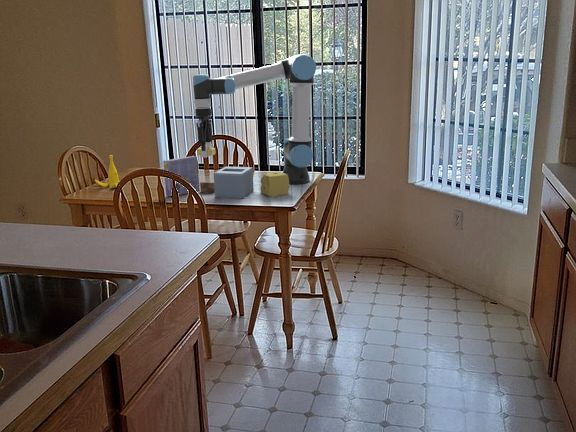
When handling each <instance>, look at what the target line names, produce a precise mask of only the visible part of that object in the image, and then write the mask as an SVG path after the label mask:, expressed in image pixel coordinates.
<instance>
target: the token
mask: <svg viewBox="0 0 576 432" xmlns="http://www.w3.org/2000/svg"><path fill="white" fill-rule="evenodd" d="M196 153H197V154H196V156H202V153H201V147H198V148H196ZM207 155H211V156H214V155H216V148H215V147H211V148H207Z"/></svg>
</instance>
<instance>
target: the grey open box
mask: <svg viewBox="0 0 576 432" xmlns="http://www.w3.org/2000/svg"><path fill="white" fill-rule="evenodd" d="M253 168H254V167H252V166H251V167H249V166H224V167H222V168H220V169H218V170H217V171H214V172H213V181H214V188H215V192H214V198H215V199H235V200H237V199H239V200H243V199H246V198H247V197H248V196H249V195H250V194H252V193H254V191H255V190H254V170H253Z"/></svg>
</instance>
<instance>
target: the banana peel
mask: <svg viewBox="0 0 576 432" xmlns="http://www.w3.org/2000/svg"><path fill="white" fill-rule="evenodd" d="M113 156H114V155H112V154H109V155H108V158H109V167H108V175H107V177H108V178H107V180H108V182H106V183H105V182H101V181H99V180H98V179H95V180H94V181H95V182H96V183H97V184H98V185H99V186H101V187H104V188H105V187H106V188H108V187H109V189H117V188H116V186H117V184H118V182H120V178H119V174H118V171H117V168H116V166H115V163H114V161H113V159H114V158H113Z"/></svg>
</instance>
